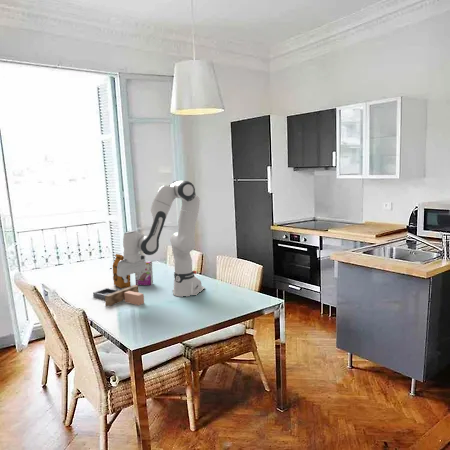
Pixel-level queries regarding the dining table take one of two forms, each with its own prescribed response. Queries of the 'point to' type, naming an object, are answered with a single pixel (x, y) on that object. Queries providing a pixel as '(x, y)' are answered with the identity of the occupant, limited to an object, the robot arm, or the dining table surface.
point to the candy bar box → (145, 275)
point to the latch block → (134, 297)
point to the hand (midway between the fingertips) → (132, 280)
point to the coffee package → (117, 279)
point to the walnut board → (119, 295)
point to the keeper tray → (103, 293)
